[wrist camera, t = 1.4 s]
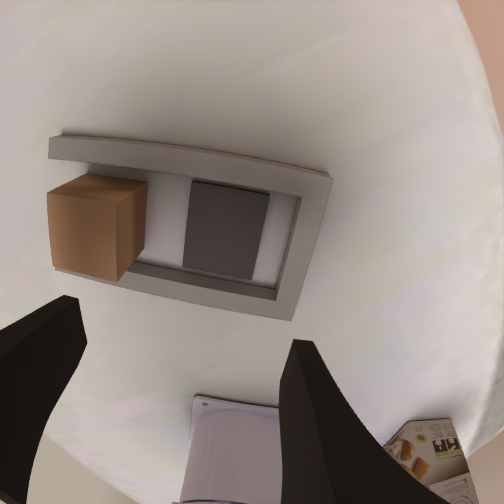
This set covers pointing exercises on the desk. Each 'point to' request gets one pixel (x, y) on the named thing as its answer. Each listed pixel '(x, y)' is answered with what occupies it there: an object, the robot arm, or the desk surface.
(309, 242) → the guide channel
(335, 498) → the robot arm
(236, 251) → the pad
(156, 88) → the desk surface
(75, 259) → the walnut block
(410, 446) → the coffee box
